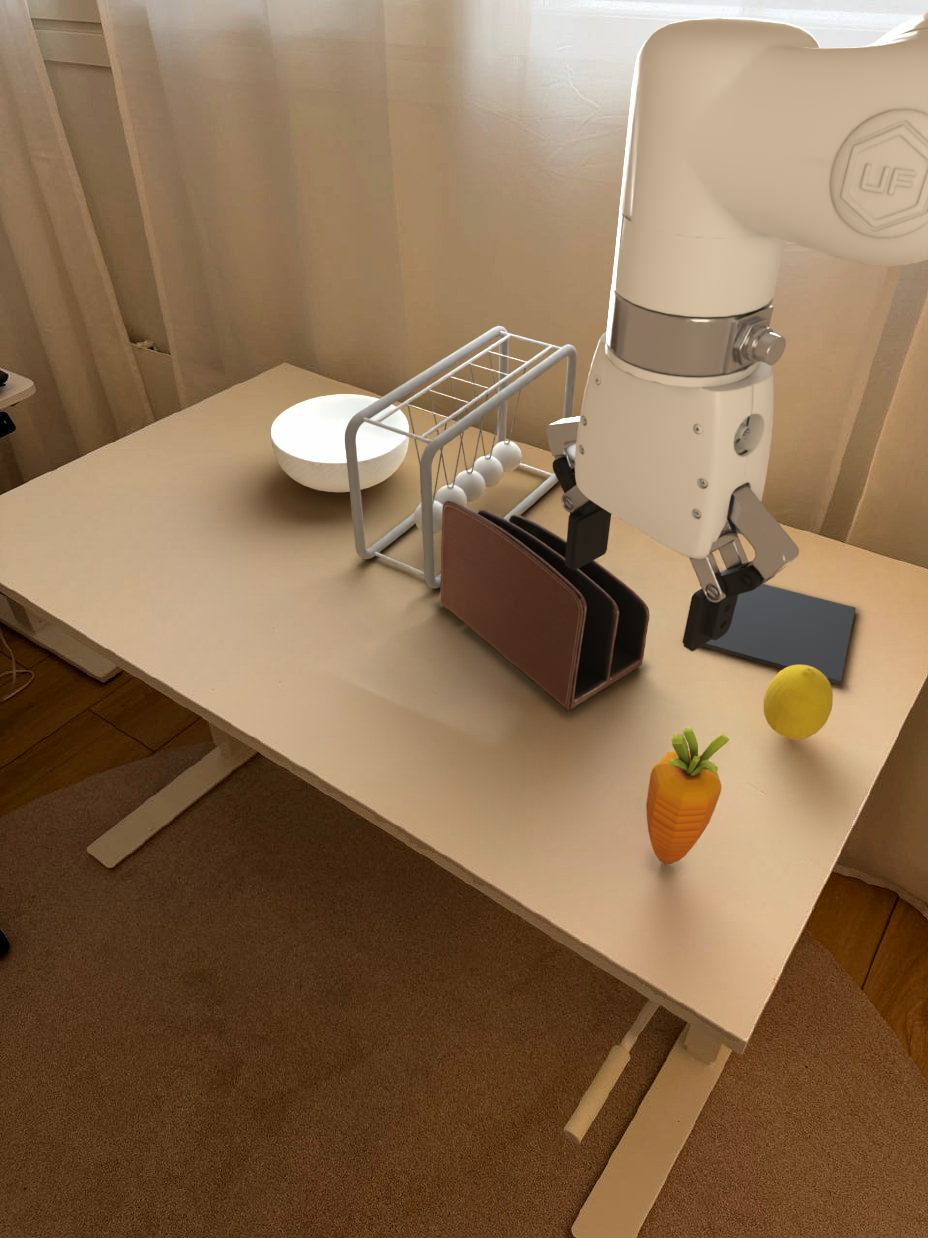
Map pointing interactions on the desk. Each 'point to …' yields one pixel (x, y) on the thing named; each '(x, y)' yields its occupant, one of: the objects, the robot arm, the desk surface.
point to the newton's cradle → (485, 468)
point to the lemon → (798, 701)
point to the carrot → (682, 796)
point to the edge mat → (789, 631)
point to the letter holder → (540, 603)
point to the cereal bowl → (337, 442)
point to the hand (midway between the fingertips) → (641, 597)
